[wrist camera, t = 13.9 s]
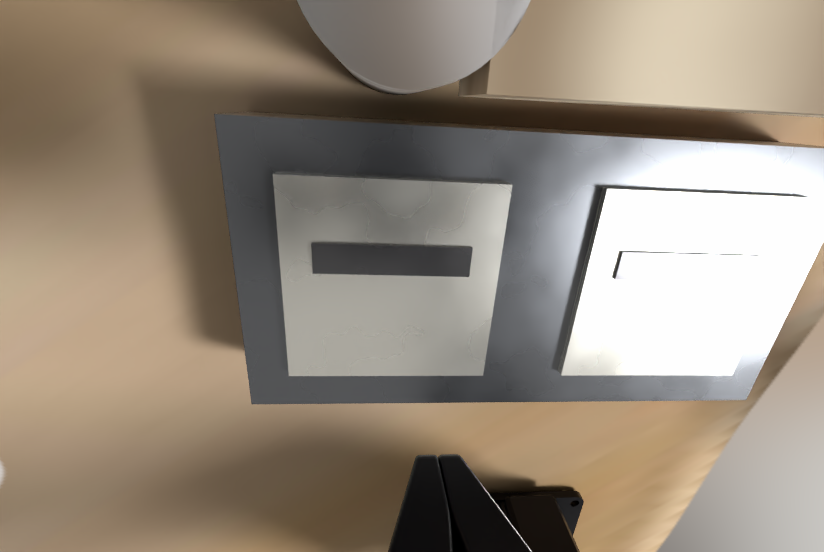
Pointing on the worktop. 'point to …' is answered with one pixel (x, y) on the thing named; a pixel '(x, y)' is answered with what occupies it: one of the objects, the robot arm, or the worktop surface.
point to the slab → (510, 259)
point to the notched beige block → (587, 50)
